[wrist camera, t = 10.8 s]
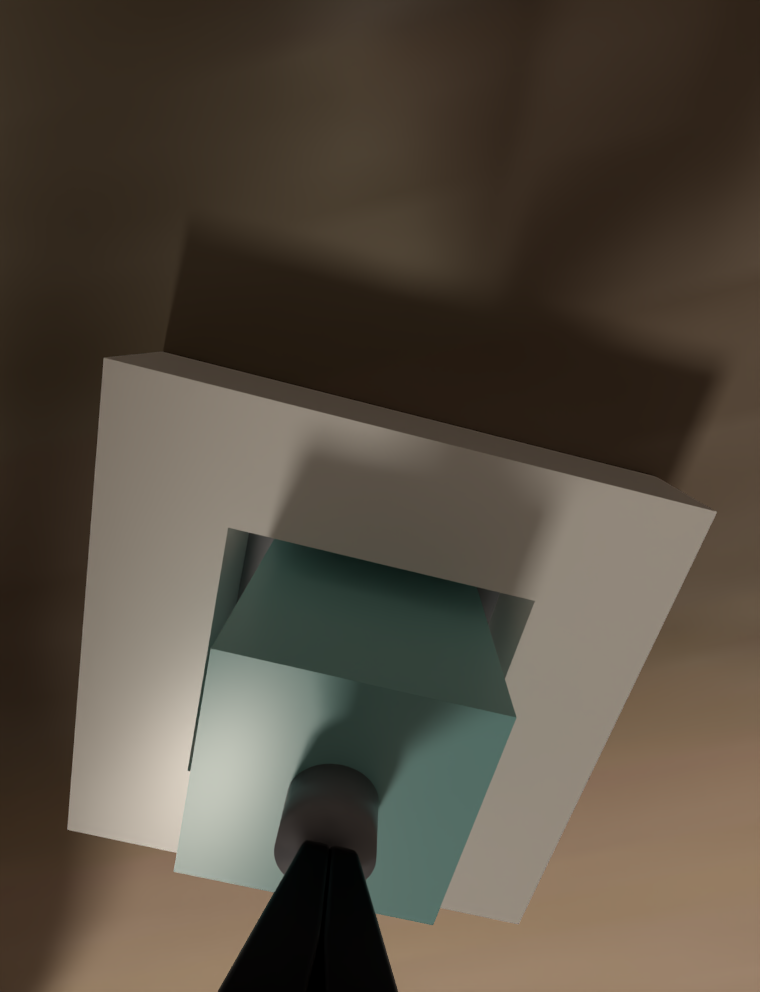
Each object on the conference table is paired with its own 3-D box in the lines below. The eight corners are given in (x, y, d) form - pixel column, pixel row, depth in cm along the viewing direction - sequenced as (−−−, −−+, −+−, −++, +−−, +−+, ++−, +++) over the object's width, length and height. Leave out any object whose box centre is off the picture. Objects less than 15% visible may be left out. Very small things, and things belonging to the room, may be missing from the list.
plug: (421, 731, 15) (436, 988, 9) (247, 692, 14) (149, 930, 9) (473, 576, 13) (531, 767, 7) (279, 530, 13) (186, 690, 7)
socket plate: (501, 836, 16) (518, 924, 14) (117, 753, 16) (67, 830, 13) (656, 476, 13) (717, 511, 10) (161, 351, 12) (103, 358, 10)
